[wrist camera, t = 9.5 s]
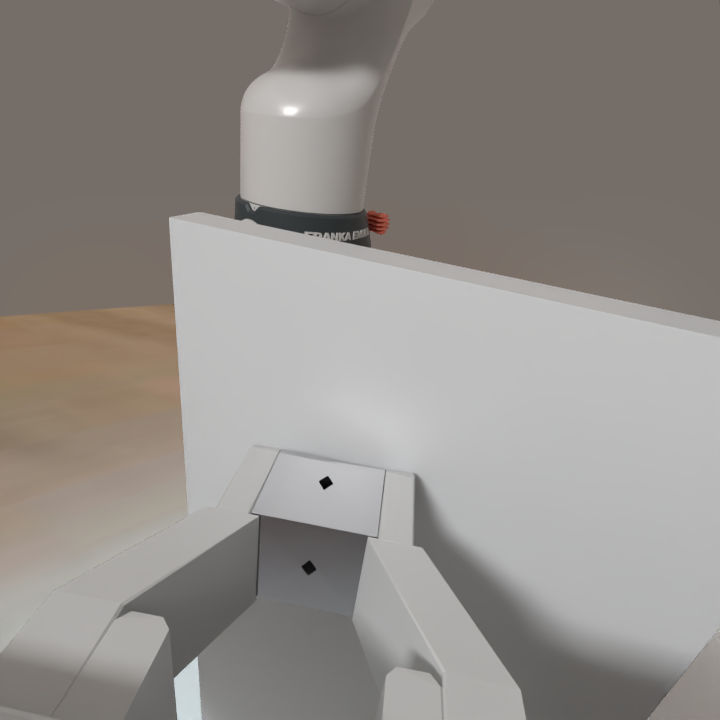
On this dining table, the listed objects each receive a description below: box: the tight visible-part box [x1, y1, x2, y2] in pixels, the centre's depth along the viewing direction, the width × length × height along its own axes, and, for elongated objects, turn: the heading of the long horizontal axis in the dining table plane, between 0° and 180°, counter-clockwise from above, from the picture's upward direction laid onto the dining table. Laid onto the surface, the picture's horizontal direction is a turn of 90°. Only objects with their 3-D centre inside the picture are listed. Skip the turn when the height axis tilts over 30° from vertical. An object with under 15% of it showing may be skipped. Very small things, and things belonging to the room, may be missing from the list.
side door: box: [169, 212, 720, 720], centre depth 10 cm, size 16×1×19 cm, turn 70°
